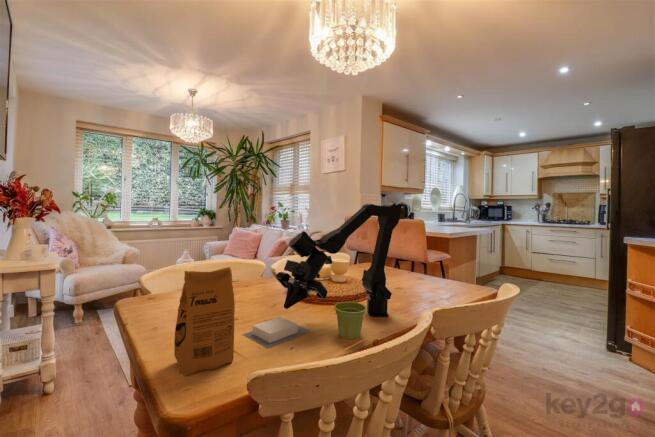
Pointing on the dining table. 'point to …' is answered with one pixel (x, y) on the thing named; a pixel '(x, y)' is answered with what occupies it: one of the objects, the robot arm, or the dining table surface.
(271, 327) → the white flat block
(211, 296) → the coffee package
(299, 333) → the mat
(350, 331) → the plant pot
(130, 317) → the dining table surface
